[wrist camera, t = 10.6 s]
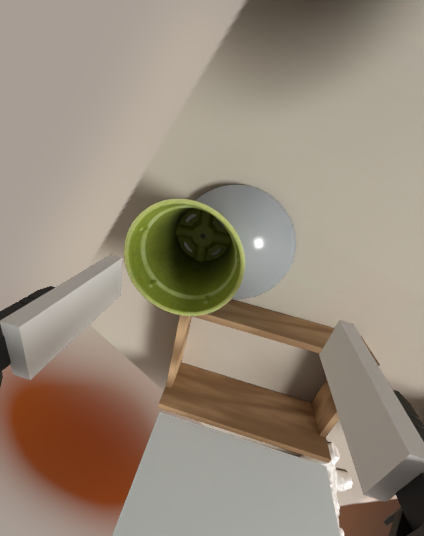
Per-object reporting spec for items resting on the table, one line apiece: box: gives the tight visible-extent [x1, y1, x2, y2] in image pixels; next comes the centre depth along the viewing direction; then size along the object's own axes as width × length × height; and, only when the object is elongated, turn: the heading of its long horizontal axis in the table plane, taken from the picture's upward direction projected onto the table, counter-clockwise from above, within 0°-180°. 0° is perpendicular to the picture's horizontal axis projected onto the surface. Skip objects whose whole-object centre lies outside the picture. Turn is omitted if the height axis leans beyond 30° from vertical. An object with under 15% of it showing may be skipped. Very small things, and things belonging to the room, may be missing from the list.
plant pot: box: [124, 198, 245, 316], centre depth 21 cm, size 9×9×9 cm
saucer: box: [184, 184, 296, 299], centre depth 25 cm, size 13×13×1 cm
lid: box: [112, 412, 340, 536], centre depth 22 cm, size 14×21×1 cm
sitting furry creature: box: [299, 443, 352, 536], centre depth 33 cm, size 10×9×12 cm
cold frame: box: [158, 299, 379, 463], centre depth 28 cm, size 14×22×7 cm, turn 77°
